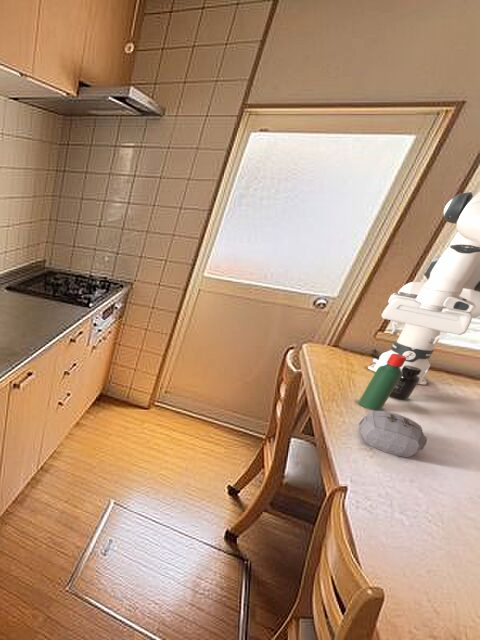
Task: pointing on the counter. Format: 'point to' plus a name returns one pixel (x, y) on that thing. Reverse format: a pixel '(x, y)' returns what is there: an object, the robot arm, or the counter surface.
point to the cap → (396, 360)
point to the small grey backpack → (392, 433)
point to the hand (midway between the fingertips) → (411, 338)
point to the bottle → (380, 387)
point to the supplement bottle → (406, 383)
